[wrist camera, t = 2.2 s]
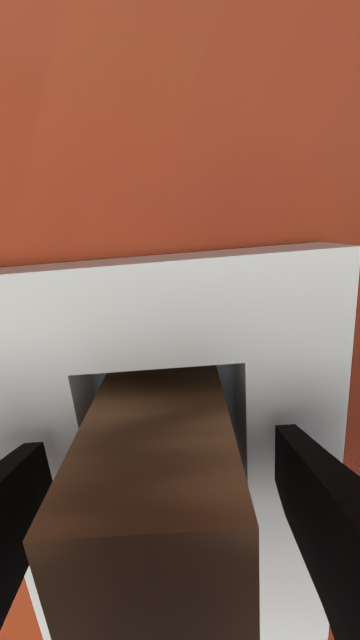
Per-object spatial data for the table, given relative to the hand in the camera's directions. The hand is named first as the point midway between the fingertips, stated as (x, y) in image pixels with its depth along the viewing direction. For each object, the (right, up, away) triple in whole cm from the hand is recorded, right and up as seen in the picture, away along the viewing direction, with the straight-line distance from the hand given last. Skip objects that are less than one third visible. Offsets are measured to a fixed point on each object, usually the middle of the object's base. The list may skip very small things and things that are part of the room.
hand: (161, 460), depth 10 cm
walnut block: (0, +1, +3) cm, 3 cm away
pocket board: (+1, -5, +5) cm, 7 cm away
